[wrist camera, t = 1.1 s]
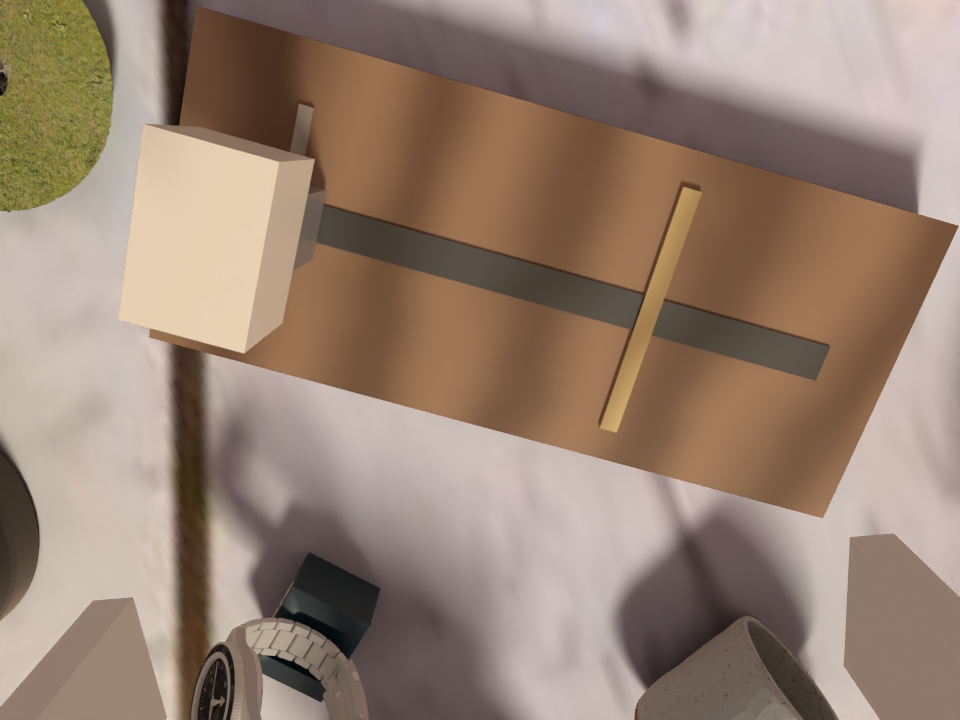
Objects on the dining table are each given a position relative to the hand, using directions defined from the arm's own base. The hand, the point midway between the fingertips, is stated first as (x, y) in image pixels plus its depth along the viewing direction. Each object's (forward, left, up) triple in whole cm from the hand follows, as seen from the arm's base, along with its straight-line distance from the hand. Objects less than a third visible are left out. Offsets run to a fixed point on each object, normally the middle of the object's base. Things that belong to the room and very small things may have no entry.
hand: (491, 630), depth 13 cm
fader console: (+1, +3, -22) cm, 23 cm away
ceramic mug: (+18, -16, -23) cm, 33 cm away
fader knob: (-10, +3, -19) cm, 22 cm away
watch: (-5, -18, -23) cm, 29 cm away
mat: (-24, +5, -23) cm, 34 cm away
